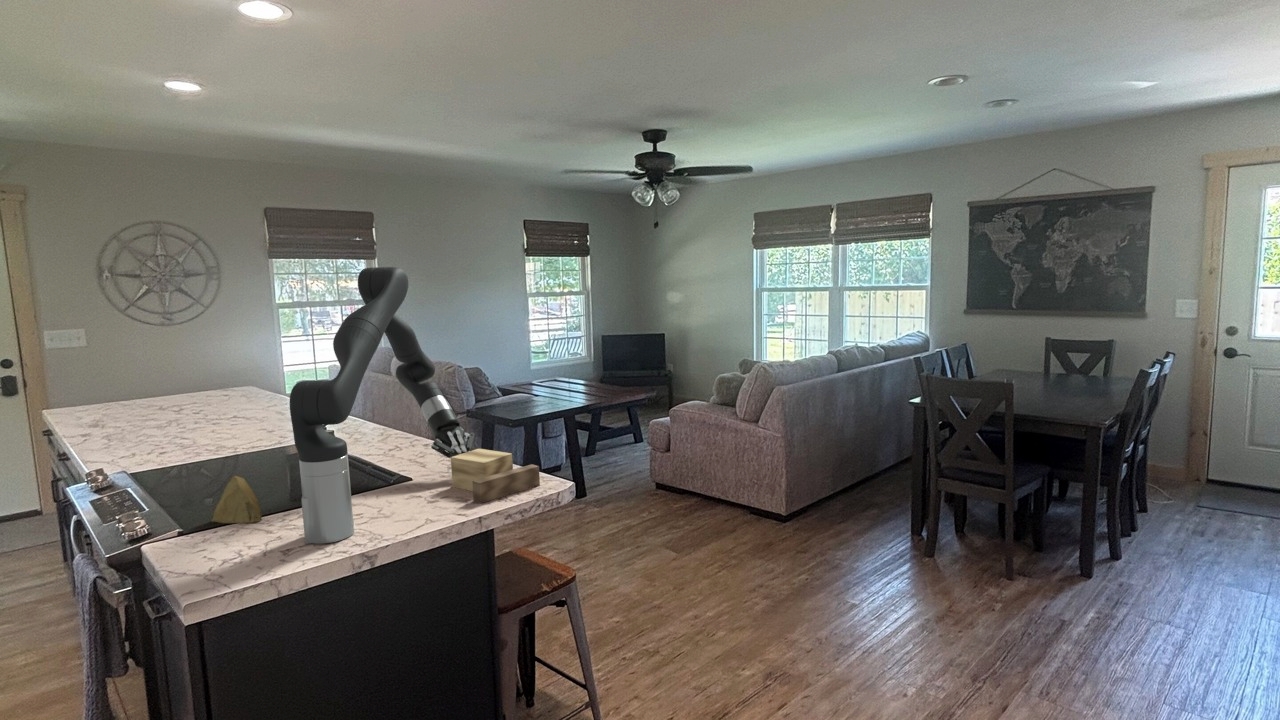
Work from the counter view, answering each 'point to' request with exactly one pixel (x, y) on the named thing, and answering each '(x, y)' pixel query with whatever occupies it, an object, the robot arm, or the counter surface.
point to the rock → (237, 504)
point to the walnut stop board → (505, 483)
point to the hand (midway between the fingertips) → (467, 466)
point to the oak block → (478, 466)
